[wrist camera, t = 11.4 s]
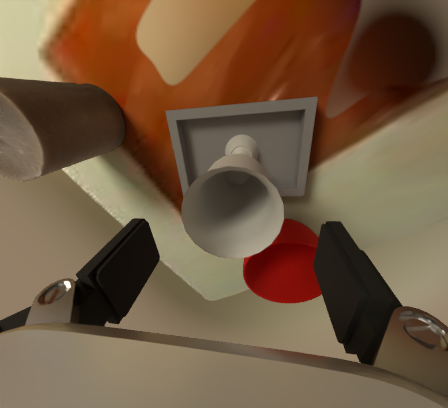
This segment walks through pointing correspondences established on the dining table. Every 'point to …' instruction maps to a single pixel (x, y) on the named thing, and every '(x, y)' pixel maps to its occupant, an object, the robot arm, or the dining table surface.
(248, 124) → the tray
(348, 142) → the dining table surface
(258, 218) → the chalice
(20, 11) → the dining table surface
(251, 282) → the ceramic cup
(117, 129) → the pillar candle
